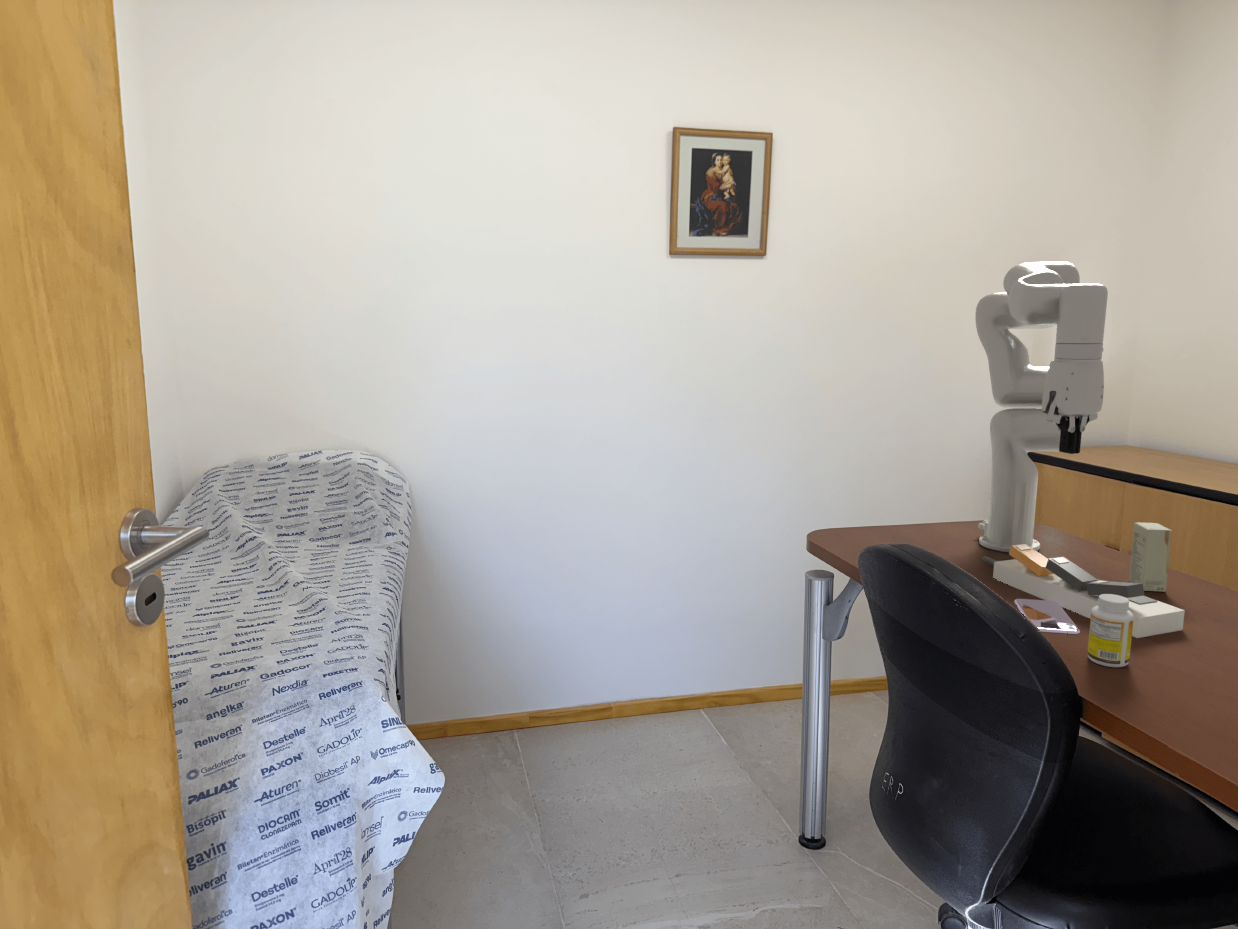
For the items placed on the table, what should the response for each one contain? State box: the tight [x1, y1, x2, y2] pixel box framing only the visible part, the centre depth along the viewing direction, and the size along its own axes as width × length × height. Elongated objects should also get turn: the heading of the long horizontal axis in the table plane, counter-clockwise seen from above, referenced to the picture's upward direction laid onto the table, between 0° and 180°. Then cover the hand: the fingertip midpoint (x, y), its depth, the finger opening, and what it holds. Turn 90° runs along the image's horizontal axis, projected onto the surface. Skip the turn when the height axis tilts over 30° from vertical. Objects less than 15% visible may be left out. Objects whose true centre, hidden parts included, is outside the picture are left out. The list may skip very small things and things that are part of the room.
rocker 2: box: [1046, 556, 1099, 591], centre depth 146 cm, size 8×4×2 cm, turn 18°
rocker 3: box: [1086, 580, 1145, 598], centre depth 137 cm, size 8×4×2 cm, turn 17°
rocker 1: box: [1008, 544, 1054, 576], centre depth 154 cm, size 8×4×2 cm, turn 18°
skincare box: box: [1128, 521, 1173, 593], centre depth 154 cm, size 6×4×12 cm
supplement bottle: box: [1087, 594, 1134, 668], centre depth 122 cm, size 6×6×10 cm
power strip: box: [981, 556, 1186, 639], centre depth 151 cm, size 40×10×5 cm, turn 18°
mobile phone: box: [1014, 598, 1081, 635], centre depth 141 cm, size 8×1×15 cm
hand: (1069, 452), depth 148 cm, fingers closed
